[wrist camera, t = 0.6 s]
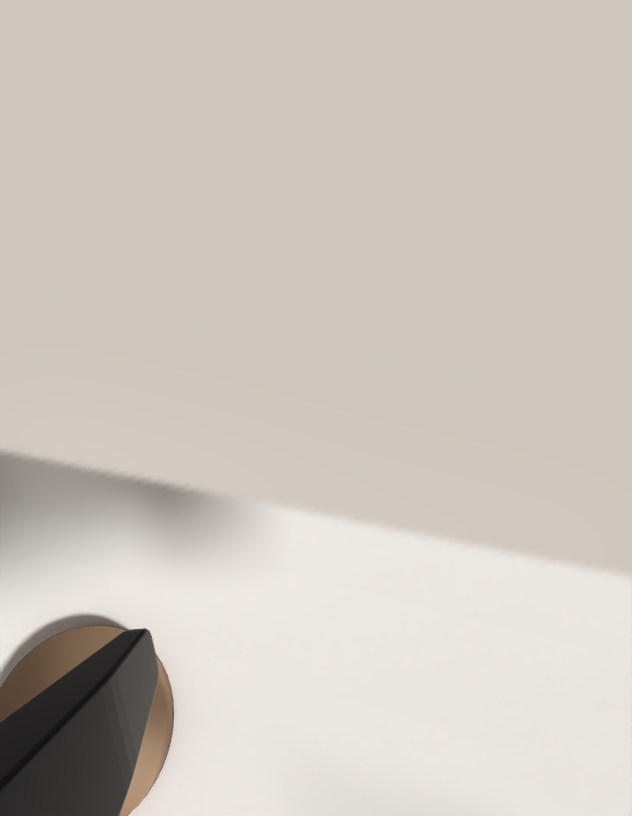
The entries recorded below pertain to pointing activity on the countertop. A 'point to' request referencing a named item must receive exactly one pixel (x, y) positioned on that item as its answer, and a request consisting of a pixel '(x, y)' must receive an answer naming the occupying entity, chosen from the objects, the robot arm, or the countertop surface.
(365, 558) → the countertop surface
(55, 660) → the walnut coaster
